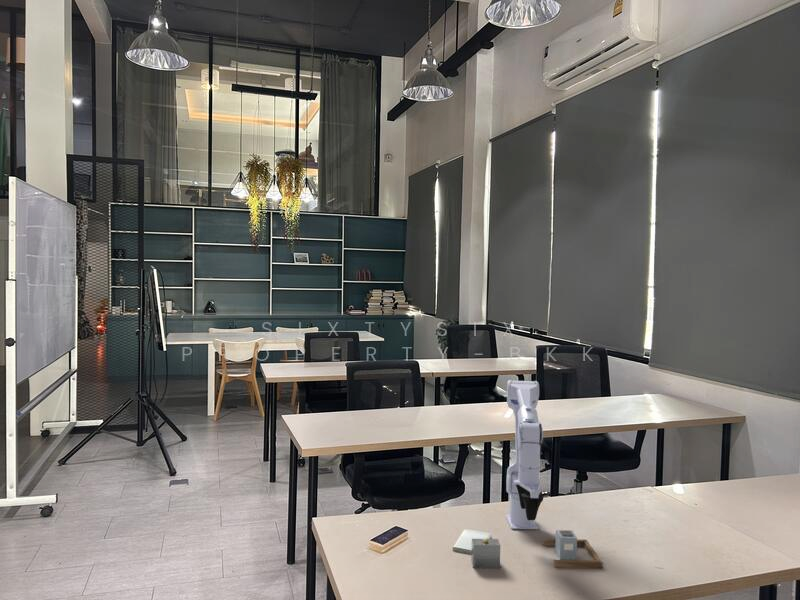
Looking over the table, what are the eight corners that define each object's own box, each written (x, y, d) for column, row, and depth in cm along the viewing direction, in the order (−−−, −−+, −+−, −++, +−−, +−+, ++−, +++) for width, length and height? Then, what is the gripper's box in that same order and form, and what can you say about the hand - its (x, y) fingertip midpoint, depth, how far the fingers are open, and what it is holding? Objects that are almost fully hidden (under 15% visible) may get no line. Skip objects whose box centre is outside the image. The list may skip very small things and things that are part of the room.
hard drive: (481, 552, 153) (491, 533, 165) (452, 546, 156) (464, 528, 168) (481, 558, 154) (491, 538, 165) (452, 552, 156) (463, 533, 168)
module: (555, 551, 157) (555, 529, 157) (571, 551, 157) (572, 529, 157) (560, 559, 152) (560, 536, 152) (576, 560, 152) (577, 537, 152)
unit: (471, 560, 151) (471, 535, 151) (497, 560, 151) (497, 536, 151) (473, 567, 147) (473, 542, 147) (499, 568, 147) (500, 543, 147)
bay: (542, 544, 161) (542, 538, 161) (586, 544, 161) (586, 539, 161) (554, 567, 148) (554, 561, 148) (602, 568, 148) (602, 562, 148)
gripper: (509, 457, 164) (508, 503, 165) (520, 474, 150) (519, 524, 150) (534, 457, 164) (532, 503, 165) (546, 474, 150) (545, 525, 150)
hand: (528, 513), depth 158 cm, fingers open, 7 cm apart
